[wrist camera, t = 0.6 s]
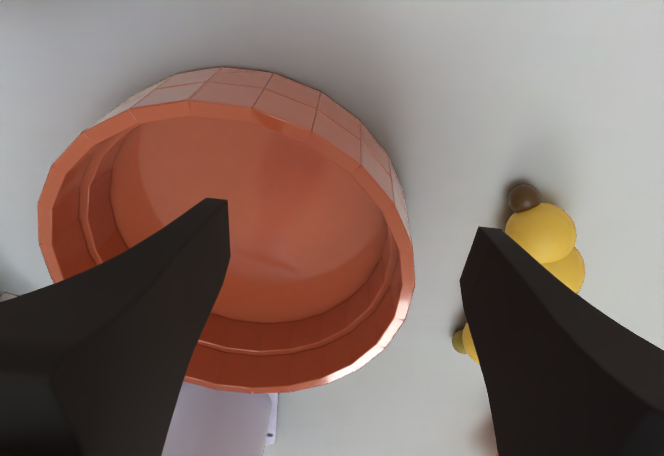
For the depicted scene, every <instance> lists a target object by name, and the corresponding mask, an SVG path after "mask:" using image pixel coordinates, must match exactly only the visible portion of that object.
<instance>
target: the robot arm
mask: <svg viewBox="0 0 664 456" xmlns="http://www.w3.org/2000/svg"><path fill="white" fill-rule="evenodd" d="M230 257H231V251H230V232H229V214H228V200H225V199H216V198H205V199H203V200H202V201H200V202H199V203H198V204H196V205H195V206H193V207H192V208H191V209H189V210H188V211H186V212H185V213H184V214H182V215H181V216H179V217H178V218H176V219H175V220H174V221H172V222H171V223H169V224H168V225H166V226H165V227H163V228H162V229H161V230H159V231H157V232H156V233H154V234H153V235H151V236H149V237H148V238H146V239H145V240H143V241H141V242H140V243H138V244H136V245H135V246H133V247H132V248H130V249H128V250H126V251H125V252H123V253H121V254H119V255H117V256H115V257H113V258H111V259H109V260H107V261H105V262H103V263H101V264H99V265H97V266H95V267H93V268H91V269H89V270H86V271H84V272H81V273H79V274H77V275H74V276H72V277H69V278H67V279H65V280H62V281H60V282H57V283H55V284H52V285H50V286H47V287H44V288H41V289H39V290H36V291H33V292H30V293H27V294H24V295H21V296H18V297H15V298H12V299H9V300H5V301H2V302H0V456H263V452H264V447H265V444H274V443H275V441H276V428H277V408H278V393H265V394H248V393H239V392H229V391H220V390H215V389H214V390H213V389H209V388H206V387H202V386H198V385H194V384H191V383H187V382H183V381H184V377H185V374H186V371H187V368H188V365H189V362H190V359H191V357H192V354H193V352H194V349H195V347H196V345H197V342H198V340H199V338H200V336H201V333H202V331H203V329H204V327H205V324H206V322H207V320H208V318H209V315H210V313H211V311H212V309H213V306H214V304H215V302H216V299H217V297H218V295H219V292H220V290H221V288H222V285H223V282H224V279H225V275H226V272H227V268H228V265H229V261H230ZM460 287H461V295H462V301H463V308H464V312H465V316H466V320H467V323H468V326H469V330H470V333H471V337H472V340H473V343H474V347H475V350H476V353H477V357H478V360H479V363H480V367H481V370H482V373H483V377H484V380H485V384H486V388H487V392H488V397H489V403H490V408H491V413H492V419H493V424H494V430H495V437H496V443H497V450H498V456H664V350H662V349H660V348H658V347H657V346H655V345H653V344H651V343H650V342H648V341H646V340H645V339H643V338H641V337H639V336H638V335H636V334H634V333H633V332H631V331H630V330H628V329H626V328H625V327H623V326H622V325H620V324H618V323H617V322H615V321H614V320H612V319H611V318H610V317H608V316H607V315H605V314H604V313H602V312H601V311H599V310H598V309H596V308H595V307H593V306H592V305H591V304H589V303H588V302H587V301H585V300H584V299H583V298H581V297H580V296H579V295H577V294H576V293H575V292H574V291H572V290H571V289H570V288H569V287H567V286H566V285H565V284H563V283H562V282H561V281H560V280H559V279H557V278H556V277H555V276H554V275H553V274H552V273H550V272H549V271H548V270H547V269H546V268H545V267H543V266H542V265H541V264H540V263H539V262H538V261H537V260H535V259H534V258H533V257H532V256H531V255H530V254H529V253H528V252H526V251H525V250H524V249H523V248H522V247H521V246H520V245H519V244H518V243H516V242H515V241H514V240H513V239H512V238H511V237H509V236H508V235H507V234H506V233H505V232H503V231H502V230H501V229H496V228H487V227H478V230H477V233H476V235H475V238H474V241H473V244H472V247H471V250H470V253H469V255H468V258H467V261H466V264H465V267H464V270H463V272H462V275H461V278H460Z"/></svg>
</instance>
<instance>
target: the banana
mask: <svg viewBox="0 0 664 456" xmlns="http://www.w3.org/2000/svg"><path fill="white" fill-rule="evenodd" d="M508 205H509V207H510V208H511V210H513V211H514V213H513V214H512V216H511V217H510V218H509V220H508V222H507V224H506V227H505V233H506V234H507V235H508V236H509V237H511V238H512V239H513V240H514V241H515V242H516V243H518V244H519V245H520V246H521V247H522V248H523V249H524V250H525V251H526V252H528V253H529V254H530V255H531V256H532V257H533V258H534V259H535V260H537V261H538V262H539V263H540V264H541V265H542V266H543V267H545V268H546V269H547V270H548V271H549V272H550V273H552V274H553V275H554V276H555V277H556V278H557V279H559V280H560V281H561V282H562V283H563V284H565V285H566V286H567V287H569V288H570V289H571V290H572V291H574V292H575V293H576V294H578V292H579V290H580V289H581V287H582V284H583V282H584V277H585V265H584V261H583V258H582V256H581V254H580V252H579V251H578V250H577V249H576V247H575V246H574V245H575V242H576V228H575V225H574V222H573V220H572V219H571V217H570V216H569V215H568V214H567V213H566V212H565V211H564V210H562V209H561V208H560V207H557V206H555V205H553V204H549V203H542V202H541V196H540V193H539V191H538V190H537V189H536V188H535V187H533V186H531V185H527V184H522V185H518V186H516V187H515V188H513V189H512V190H511V191H510V193H509V195H508ZM452 344H453V347H454V349H455V350H456V351H457V352H459V353H461V354H468V355H469V356H470V357H471V358H472V359H473V360H474V361H475V362H477V363H479V360H478V357H477V353H476V350H475V347H474V343H473V340H472V337H471V333H470V330H469V326H468V323H466V325H465V327H464V329H463V330H459V331H457V332H456V333H455V334H454V335H453V338H452ZM479 364H480V363H479Z"/></svg>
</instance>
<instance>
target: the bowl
mask: <svg viewBox="0 0 664 456" xmlns="http://www.w3.org/2000/svg"><path fill="white" fill-rule="evenodd" d="M205 198H216V199H225V200H228V214H229V232H230V251H231V257H230V261H229V265H228V268H227V272H226V275H225V279H224V282H223V285H222V288H221V290H220V292H219V295H218V297H217V299H216V302H215V304H214V306H213V309H212V311H211V313H210V315H209V318H208V320H207V322H206V324H205V327H204V329H203V331H202V333H201V336H200V338H199V340H198V342H197V345H196V347H195V349H194V352H193V354H192V357H191V359H190V362H189V365H188V368H187V371H186V374H185V377H184V381H183V382H187V383H191V384H194V385H198V386H202V387H206V388H209V389H213V390H214V389H215V390H220V391H229V392H239V393H248V394H265V393H285V392H294V391H298V390H303V389H307V388H311V387H316V386H320V385H324V384H328V383H330V382H332V381H335V380H337V379H339V378H341V377H343V376H345V375H348V374H350V373H352V372H354V371H356V370H358V369H360V368H361V367H362V366H364V365H365V364H366V363H367V362H369V361H370V360H371V359H372V358H374V357H375V356H376V355H377V354H379V353H380V352H381V351H383V350H384V349H385V347H386V346H387V345H388V344H389V342H390V341H391V339H392V338H393V336H394V335H395V334H396V332H397V331H398V329H399V328H400V327H401V325H402V324H403V322H404V321H405V319H406V316H407V312H408V309H409V305H410V302H411V299H412V295H413V292H414V288H415V273H414V258H413V246H412V240H411V234H410V228H409V222H408V216H407V210H406V205H405V199H404V193H403V190H402V188H401V185H400V183H399V181H398V178H397V176H396V173H395V171H394V168H393V166H392V163H391V161H390V158H389V157H388V155H387V154H386V152H385V151H384V150H383V149H382V147H381V146H380V145H379V144H378V142H377V141H376V140H375V139H374V137H373V136H372V135H371V133H370V132H369V131H368V130H367V128H366V127H365V126H364V125H363V123H362V122H360V120H359V119H357V118H356V117H354V116H353V115H352V114H350V113H349V112H348V111H346V110H345V109H344V108H342V107H341V106H340V105H338V104H337V103H335V102H334V101H333V100H331V99H330V98H329V97H327V96H326V95H325V94H323V93H321V92H320V91H317V90H315V89H312V88H310V87H307V86H305V85H302V84H300V83H297V82H295V81H292V80H290V79H287V78H285V77H282V76H280V75H277V74H273V73H270V72H262V71H253V70H245V69H237V68H228V67H218V68H211V69H205V70H199V71H192V72H186V73H180V74H175V75H172V76H170V77H168V78H166V79H164V80H162V81H160V82H158V83H156V84H154V85H152V86H150V87H148V88H146V89H144V90H142V91H140V92H138V93H136V94H135V95H133V96H132V97H130V98H129V99H127V100H126V101H125V102H123V103H122V104H120V105H119V106H118V107H116V108H115V109H113V110H112V111H111V112H109V113H108V114H107V115H105V116H104V117H102V118H101V119H100V120H98V121H97V122H95V123H94V124H93V125H91V126H90V127H88V128H87V129H86V130H84V131H83V132H82V133H81V134H80V135H79V136H78V137H77V138H76V139H75V140H74V141H73V142H72V143H71V144H70V146H69V147H68V148H67V149H66V150H65V151H64V152H63V153H62V154H61V155H60V156H59V157H58V158H57V159H56V161H55V162H54V163H53V164H52V166H51V168H50V171H49V173H48V176H47V179H46V182H45V184H44V187H43V190H42V192H41V195H40V198H39V201H38V239H39V246H40V248H41V251H42V254H43V257H44V259H45V262H46V265H47V268H48V270H49V273H50V276H51V279H52V280H53V282H54V284H55V283H57V282H60V281H62V280H65V279H67V278H69V277H72V276H74V275H77V274H79V273H81V272H84V271H86V270H89V269H91V268H93V267H95V266H97V265H99V264H101V263H103V262H105V261H107V260H109V259H111V258H113V257H115V256H117V255H119V254H121V253H123V252H125V251H126V250H128V249H130V248H132V247H133V246H135V245H136V244H138V243H140V242H141V241H143V240H145V239H146V238H148V237H149V236H151V235H153V234H154V233H156V232H157V231H159V230H161V229H162V228H163V227H165V226H166V225H168V224H169V223H171V222H172V221H174V220H175V219H176V218H178V217H179V216H181V215H182V214H184V213H185V212H186V211H188V210H189V209H191V208H192V207H193V206H195V205H196V204H198V203H199V202H200V201H202V200H203V199H205Z"/></svg>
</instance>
